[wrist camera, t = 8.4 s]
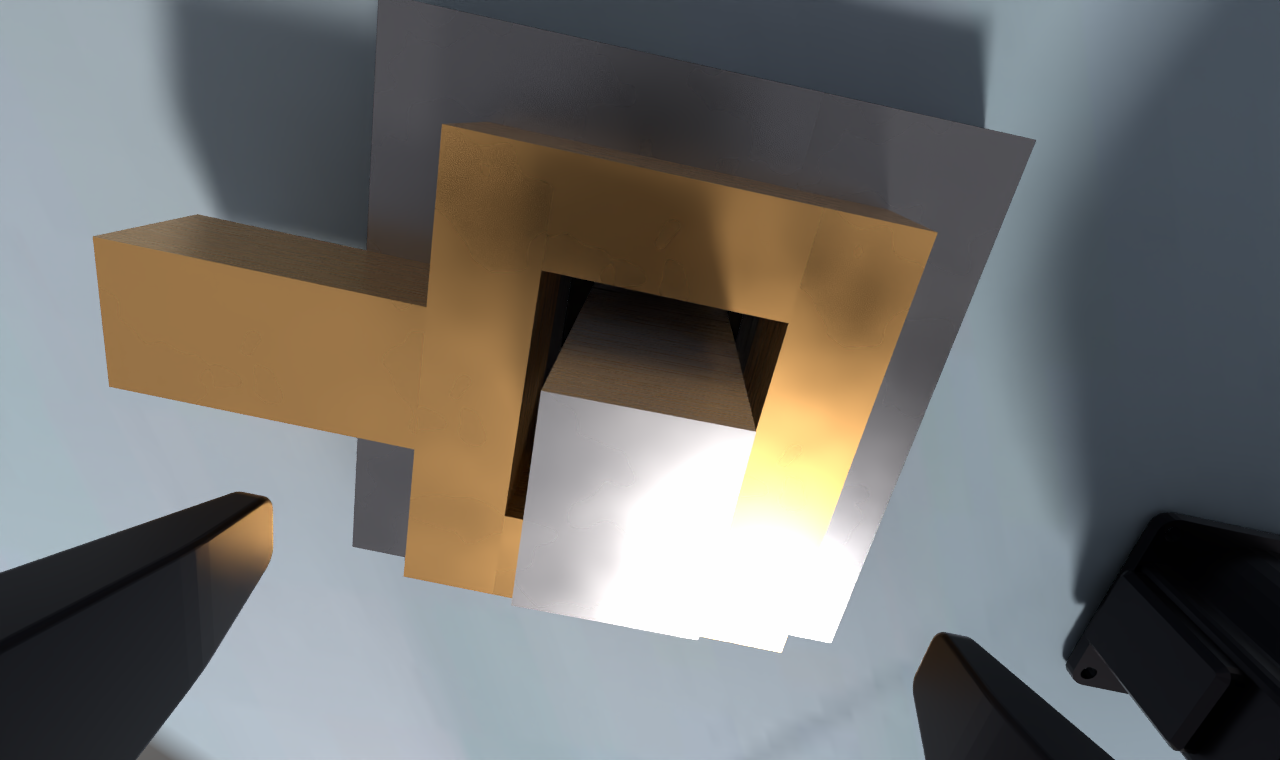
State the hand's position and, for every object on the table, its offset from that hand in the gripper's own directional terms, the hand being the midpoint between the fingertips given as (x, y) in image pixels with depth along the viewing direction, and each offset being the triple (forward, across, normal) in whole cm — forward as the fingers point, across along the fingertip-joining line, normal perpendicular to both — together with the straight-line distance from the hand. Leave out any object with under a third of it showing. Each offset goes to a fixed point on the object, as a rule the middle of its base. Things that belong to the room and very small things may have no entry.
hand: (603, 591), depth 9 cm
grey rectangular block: (+11, 0, 0) cm, 11 cm away
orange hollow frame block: (+11, +2, 0) cm, 11 cm away
